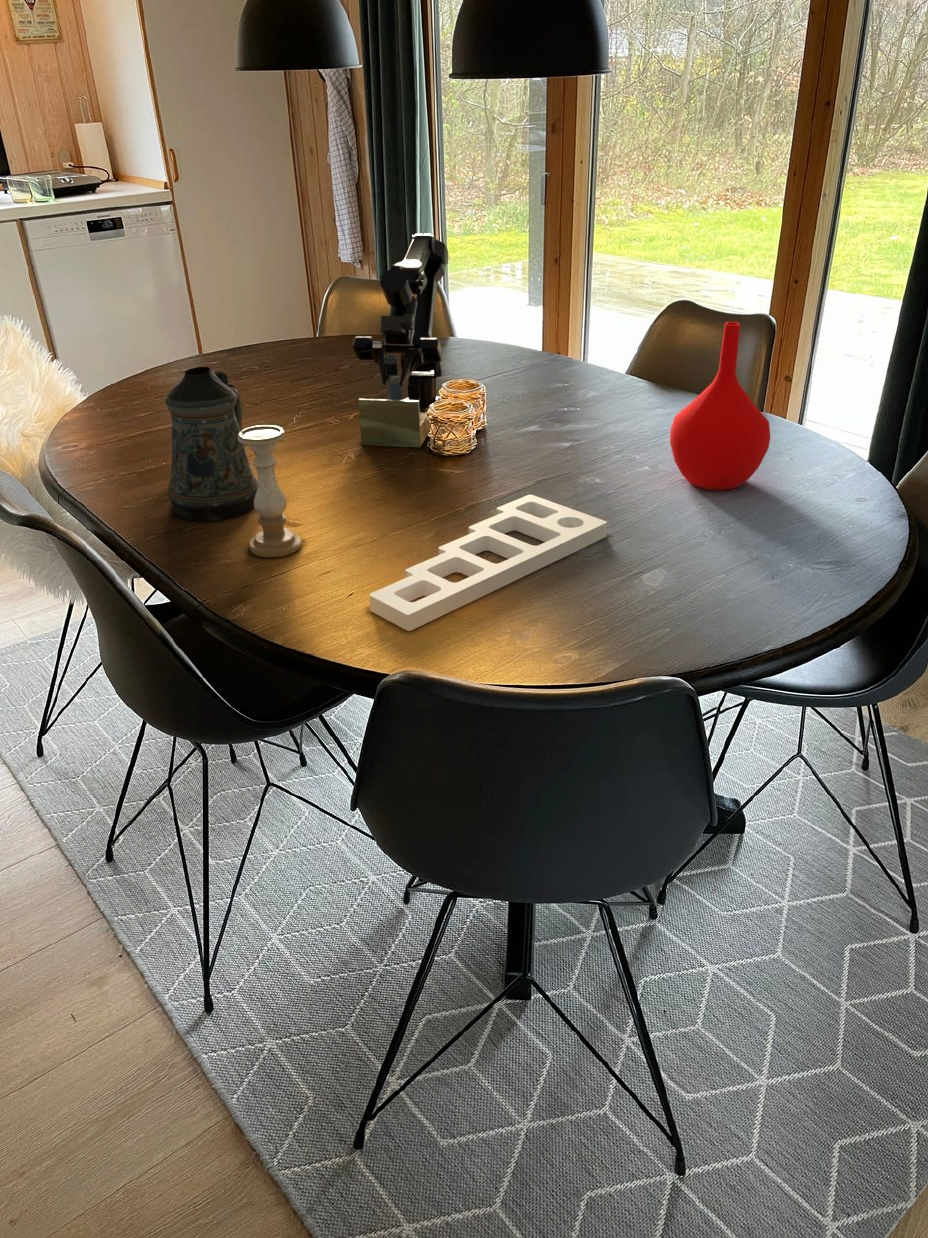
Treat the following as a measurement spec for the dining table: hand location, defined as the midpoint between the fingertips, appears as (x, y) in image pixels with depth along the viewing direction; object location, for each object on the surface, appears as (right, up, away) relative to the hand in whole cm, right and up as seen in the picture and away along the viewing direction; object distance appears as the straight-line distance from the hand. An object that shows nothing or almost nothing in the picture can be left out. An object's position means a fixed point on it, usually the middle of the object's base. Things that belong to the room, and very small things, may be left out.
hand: (392, 384), depth 204 cm
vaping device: (0, -5, +5) cm, 7 cm away
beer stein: (-32, -28, -23) cm, 48 cm away
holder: (+17, -41, -48) cm, 65 cm away
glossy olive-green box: (0, -10, +7) cm, 12 cm away
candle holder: (-17, -38, -41) cm, 58 cm away
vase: (+64, -24, -19) cm, 71 cm away
